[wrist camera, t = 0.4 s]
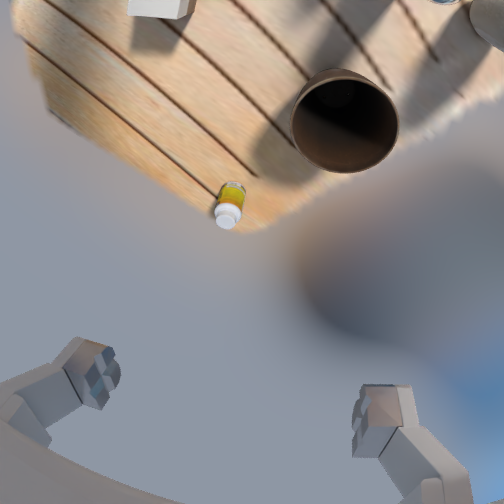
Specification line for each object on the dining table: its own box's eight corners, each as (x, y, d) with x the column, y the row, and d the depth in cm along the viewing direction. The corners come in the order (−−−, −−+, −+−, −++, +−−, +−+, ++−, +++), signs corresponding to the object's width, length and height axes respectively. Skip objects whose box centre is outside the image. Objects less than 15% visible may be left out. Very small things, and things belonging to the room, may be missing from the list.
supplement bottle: (222, 177, 68) (212, 209, 62) (248, 182, 68) (241, 215, 62) (220, 197, 72) (211, 229, 66) (244, 201, 73) (237, 234, 66)
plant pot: (312, 34, 42) (318, 57, 32) (391, 73, 45) (419, 111, 35) (279, 105, 53) (273, 150, 43) (352, 136, 56) (364, 187, 46)
